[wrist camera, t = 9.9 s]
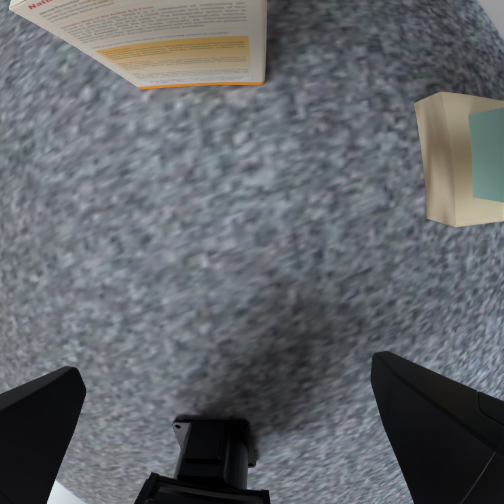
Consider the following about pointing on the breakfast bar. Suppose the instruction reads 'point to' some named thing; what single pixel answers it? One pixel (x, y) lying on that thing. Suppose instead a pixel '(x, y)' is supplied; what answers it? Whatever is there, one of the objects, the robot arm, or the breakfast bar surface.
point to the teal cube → (487, 154)
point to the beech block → (452, 159)
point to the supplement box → (162, 37)
